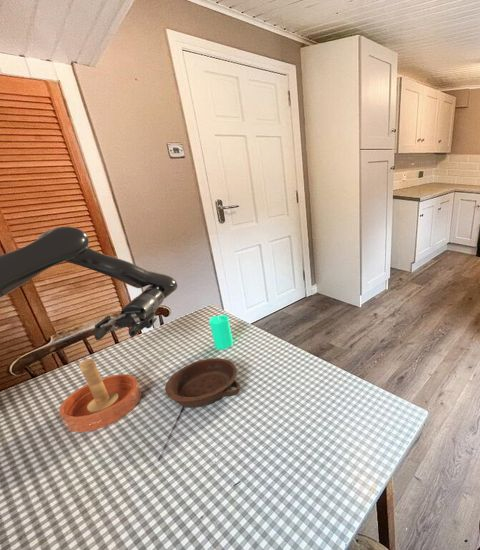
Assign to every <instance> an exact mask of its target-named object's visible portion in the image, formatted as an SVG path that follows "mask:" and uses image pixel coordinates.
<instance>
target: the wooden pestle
mask: <svg viewBox="0 0 480 550" xmlns="http://www.w3.org/2000/svg"><path fill="white" fill-rule="evenodd" d="M78 366H79V368H80V371H81V373H82V375H83V378H84V380H85V382H86V385H87V384H88V387H89V389H90V391H91V393H92V396H93V398H94V399H93V400H92V401H91V402H90V403H89V404H88V406H87V409H88V411H89V413H90V415H91V414H94V413H97V412H100V411H103V410H105V409H107V408H109V407H111V406H113V405H114V404H116V403H118V402H119V401H121V400H120V398H119V395H118V394H117V393H114V392H111V393H107V390H106V388H105V385H104V383H103V381H102V378H103V377H102V376H101V373H100V371H99V369H98V367H97V364H96V361H95V360H94V358H88V359H85V360H83V361H80V362H79V364H78Z"/></svg>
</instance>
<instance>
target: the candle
mask: <svg viewBox="0 0 480 550" xmlns="http://www.w3.org/2000/svg"><path fill="white" fill-rule="evenodd" d="M208 322H209V327H210V331H211V336H212V339H213V344H214V347H215V349H216V350H226V349H228V348H230V347H232V346H233V344H234V339H233V334H232V330H231V324H230V319H229V316H228V315H227V314H221V315H214V316H212V317H210V318H209V320H208Z"/></svg>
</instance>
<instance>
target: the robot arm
mask: <svg viewBox="0 0 480 550" xmlns="http://www.w3.org/2000/svg"><path fill="white" fill-rule="evenodd" d="M89 245H90V239H89V236H88V235H87V233H86V232H84V230H82V229H80V228H77V227H74V226H67V225H66V226H57V227H53V228H52V229H49V230H46V231H44V232H42V233H41V234H40V235H39V236H38V237H37V239H36V240H35V241H32V242H31V243H29V244H27V245H25V246H23V247H21V248H19V249H15V250H13V251H10V252H7V253H4V254H0V299H1V298H2V297H3V298H4V297H5V296H6V295H8V294H9V293H11V292H12V291H15V290H16V289H18V288H20V287H21V286H23V285H25V284H26V283H28V282H29V281H31V280H32V279H33V278H35V277H37V276H38V275H40V274H41V273H43V272H44V271H46V270H48V269H50V268H53V267H54V266H57V265H59V264H62V263H64V262H65V263H69V264H73V265H76V266H80V267H82V268H85V269H87V270H92V271H95V272H96V273H100V274H102V275H105V276H107V277H109V278H112V279H114V280H117V281H119V282H121V283H123V284H126V285H127V286H128V285H129V286H131V287H133V288H136V289H142V288H145V287H146V288H145V289H144V290H143V291H142V292H141V293H140V294H139V295H138V296H137V295H136V297H134V298H133V299H132V300H131V301H129V303H127V304H126V305H125V306H124V307H123V308H122V309H121V311H120V314H119V315H117V316H115V317H113V318H111V316H110V315H108V316H105V317H104V318H102V319H101V320H100V321H99V322H97V323H96V324H94V329H95V332H94V333H93V336H94V339H95V340H96V341H100V340H102V339H103V338H104V337H105V336H106V335H107V334H108V333H111V332H117V331H119V330H121V329H124V328H129V330H128V335H129V337H130V338H133V337H135V335H137V334H139V333H140V331H143V330H144V328H146V329H151V328H152V326H153V325H154V324H155V323H156V321H157V320H158V319H157V316H156V311H157V310H158V308H159V307H160V306H161V305H162V304H163V303H164V300H165V299H166V298H168V297H169V296H170V295H171V294H173V293H174V292H175V291H176V290H177V289H178V286H179V285H178V282H177V280H176V279H175V278H173V277H172V276H170V275H167V274H164V273H160V272H155V271H151V270H147V269H145V268H142V267H141V266H140V265H139V266H138V265H137V264H135V263H132V262H129V261H127V260H125V259H122V258H118V257H114V256H111V255H107V254H104V253H101V252H99V251H96V250H95V249H92V248H90V247H89ZM115 324H116V325H117V326H116V325H115ZM109 327H110V328H109Z"/></svg>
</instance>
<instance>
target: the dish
mask: <svg viewBox="0 0 480 550" xmlns="http://www.w3.org/2000/svg"><path fill="white" fill-rule="evenodd" d="M237 375H238V369H237V366H236V364H235V363H234V362H233V361H231V360H229V359H226V358H220V357H212V358H205V359H201V360H197V361H194V362H191V363H188V364H187V365H185V366H183V367H182V368H180V369H179V370H177V371H176V372H174V373H173V374H172V375H171V376H170V377H169V379H168V380H167V381H166V384H165V389H164V392H165V394H166V396H167V398H169V399H171V400H173V401H174V402H175V403H176V404H178V405H179V406H182V407H184V408H191V409H193V408H194V409H195V408H200V407H205V406H208V405H211V404H212V403H215V402H216V401H218V400H220V399H222V398H223V397H234V396H236V395H238V394H239V393H240V391H241V384H240V382H239V381H238V380H236V378H237ZM232 388H234V389H232Z"/></svg>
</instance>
